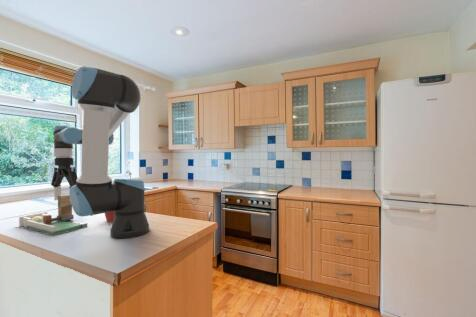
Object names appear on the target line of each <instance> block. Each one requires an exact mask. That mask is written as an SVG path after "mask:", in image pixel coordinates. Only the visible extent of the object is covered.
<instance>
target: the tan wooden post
mask: <svg viewBox="0 0 476 317" xmlns="http://www.w3.org/2000/svg"><path fill="white" fill-rule="evenodd" d="M57 220H61V221H67V220H74V214H73V207H72V204H71V202H70V193H67V194H61V195H58V200H57V215H56V216H55V217H52V215H51V214H47V215H46V216H43V224H49V223H52V221H57Z"/></svg>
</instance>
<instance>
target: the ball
mask: <svg viewBox="0 0 476 317" xmlns="http://www.w3.org/2000/svg"><path fill="white" fill-rule="evenodd" d="M42 220H43V219H42V217H40V216H36V217H34V218H33V219H32V221H34V222H42Z"/></svg>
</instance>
